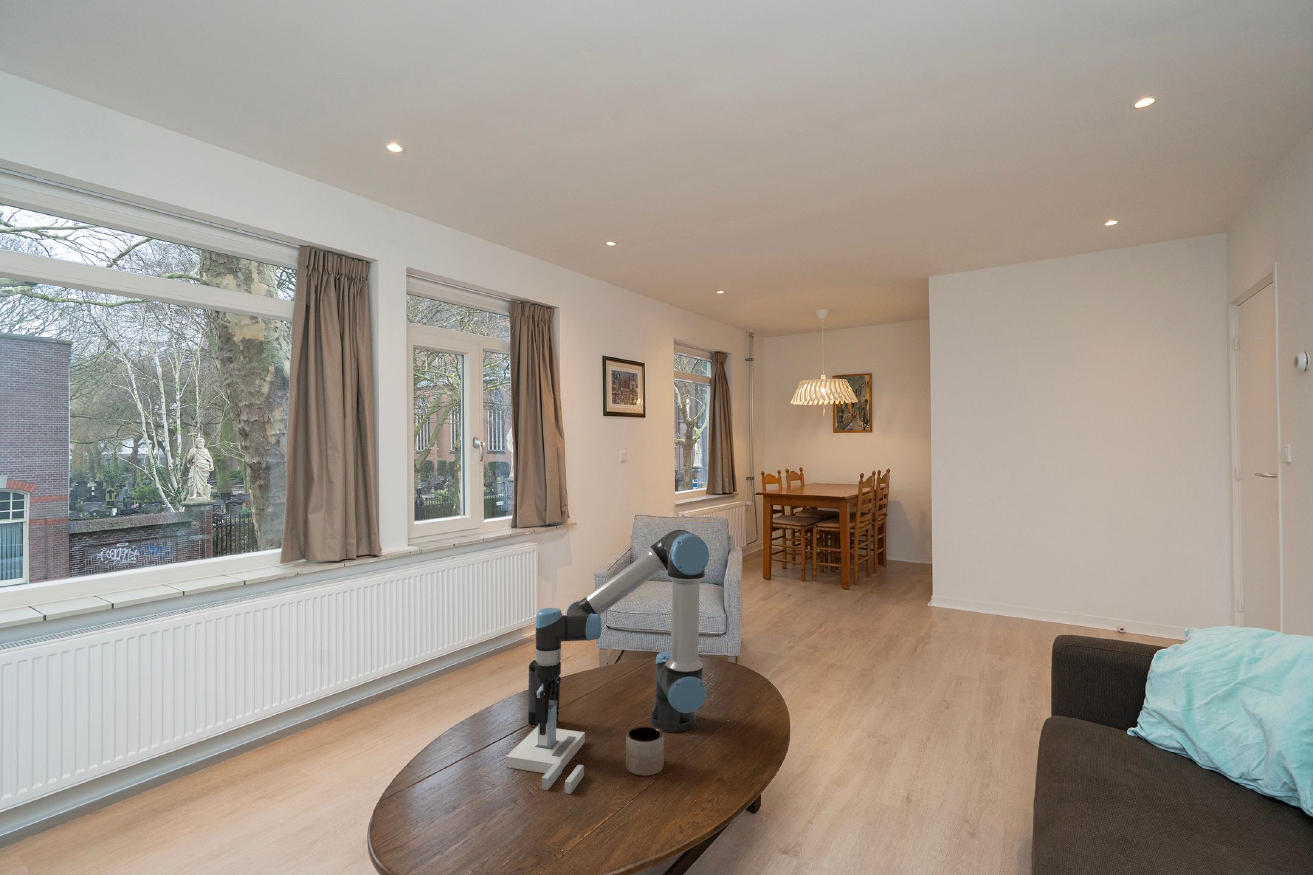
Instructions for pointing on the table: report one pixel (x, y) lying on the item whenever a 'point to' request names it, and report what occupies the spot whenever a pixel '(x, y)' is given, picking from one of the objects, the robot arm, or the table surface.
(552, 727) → the plug
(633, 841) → the table surface
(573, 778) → the cradle
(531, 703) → the electronic device
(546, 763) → the port plate
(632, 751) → the planter
